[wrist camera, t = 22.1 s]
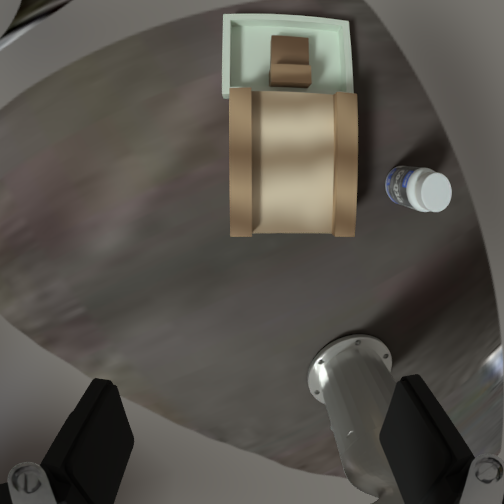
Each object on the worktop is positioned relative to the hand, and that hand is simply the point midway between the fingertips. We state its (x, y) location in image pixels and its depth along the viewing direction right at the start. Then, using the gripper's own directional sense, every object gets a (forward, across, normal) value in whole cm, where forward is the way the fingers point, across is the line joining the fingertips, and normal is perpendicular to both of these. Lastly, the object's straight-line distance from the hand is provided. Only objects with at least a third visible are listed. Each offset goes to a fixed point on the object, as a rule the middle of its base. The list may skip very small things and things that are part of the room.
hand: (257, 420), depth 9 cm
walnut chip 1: (+26, -4, -20) cm, 33 cm away
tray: (+28, -4, -20) cm, 35 cm away
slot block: (+28, -4, -8) cm, 30 cm away
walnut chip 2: (+26, -4, -16) cm, 31 cm away
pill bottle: (+28, -18, -6) cm, 34 cm away
